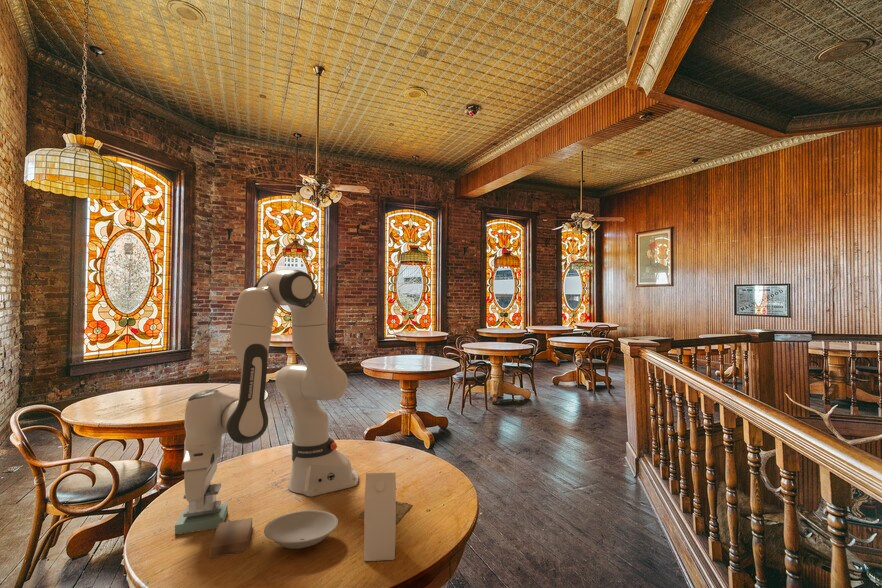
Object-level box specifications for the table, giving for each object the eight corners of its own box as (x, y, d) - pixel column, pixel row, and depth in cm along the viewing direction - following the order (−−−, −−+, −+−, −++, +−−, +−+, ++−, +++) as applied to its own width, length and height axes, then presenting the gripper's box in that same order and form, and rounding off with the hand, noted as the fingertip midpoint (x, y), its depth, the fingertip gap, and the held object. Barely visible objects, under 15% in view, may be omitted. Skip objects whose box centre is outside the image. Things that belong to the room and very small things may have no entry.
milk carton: (366, 543, 102) (367, 467, 102) (395, 542, 102) (395, 466, 102) (363, 562, 95) (364, 480, 95) (394, 560, 95) (395, 479, 95)
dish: (254, 565, 93) (254, 544, 93) (274, 530, 107) (274, 511, 107) (332, 562, 94) (332, 540, 95) (342, 527, 109) (342, 508, 109)
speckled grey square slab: (356, 519, 113) (356, 515, 113) (378, 499, 125) (378, 496, 125) (395, 528, 109) (395, 524, 109) (413, 506, 121) (413, 503, 121)
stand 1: (227, 512, 116) (227, 503, 116) (222, 527, 109) (222, 517, 109) (183, 519, 112) (183, 509, 112) (174, 534, 105) (174, 525, 105)
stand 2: (252, 527, 109) (252, 517, 109) (247, 551, 98) (247, 541, 98) (218, 532, 106) (218, 523, 106) (209, 558, 96) (209, 547, 96)
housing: (188, 508, 112) (188, 487, 112) (220, 503, 114) (221, 483, 114) (183, 517, 107) (183, 495, 107) (217, 512, 109) (217, 491, 110)
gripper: (198, 439, 119) (198, 486, 119) (179, 467, 100) (179, 523, 100) (222, 437, 121) (222, 483, 121) (208, 463, 102) (208, 518, 102)
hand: (202, 502), depth 110 cm, fingers closed on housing, 5 cm apart
